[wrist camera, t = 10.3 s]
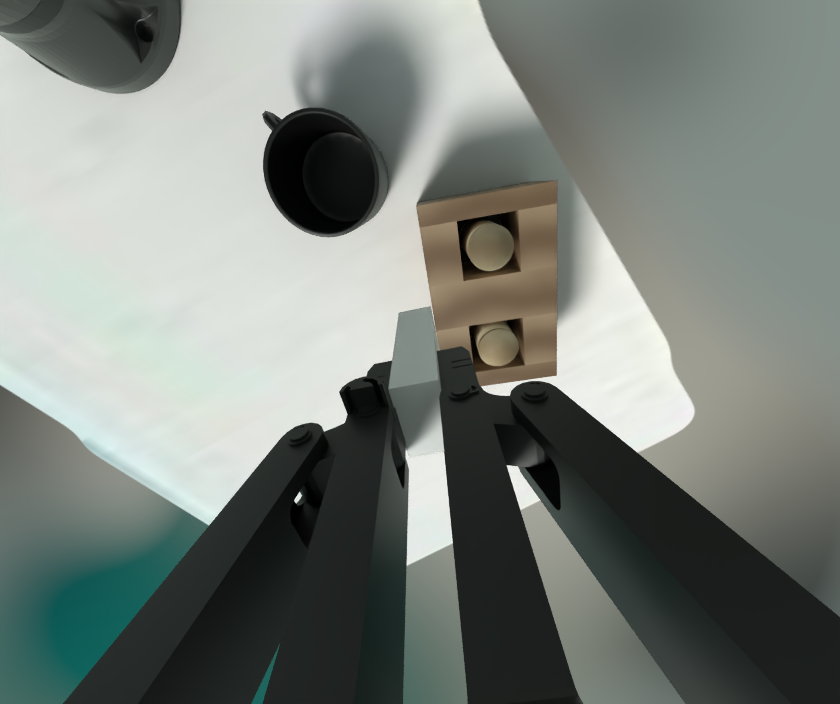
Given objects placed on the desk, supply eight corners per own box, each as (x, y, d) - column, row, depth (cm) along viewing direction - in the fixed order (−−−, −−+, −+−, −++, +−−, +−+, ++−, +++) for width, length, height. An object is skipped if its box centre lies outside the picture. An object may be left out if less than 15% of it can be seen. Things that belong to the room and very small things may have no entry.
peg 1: (457, 220, 37) (466, 228, 30) (494, 214, 37) (512, 220, 30) (461, 258, 39) (470, 274, 32) (497, 252, 39) (515, 267, 32)
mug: (313, 79, 33) (277, 43, 24) (407, 177, 36) (403, 174, 28) (259, 162, 36) (211, 154, 27) (350, 245, 39) (332, 260, 31)
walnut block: (417, 202, 37) (416, 206, 30) (530, 181, 36) (557, 180, 29) (441, 358, 45) (445, 391, 38) (534, 344, 44) (556, 375, 37)
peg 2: (467, 308, 42) (476, 333, 34) (500, 302, 41) (517, 327, 34) (470, 338, 43) (480, 368, 36) (503, 333, 43) (519, 363, 36)
